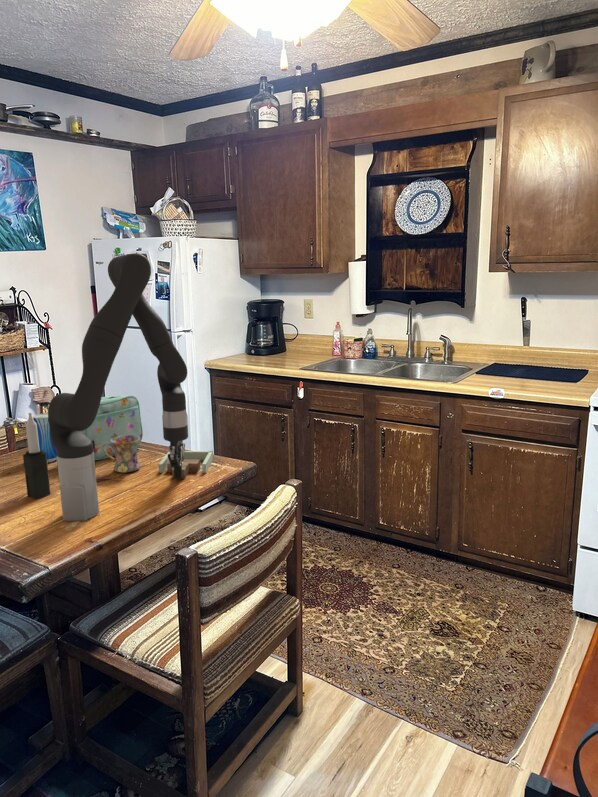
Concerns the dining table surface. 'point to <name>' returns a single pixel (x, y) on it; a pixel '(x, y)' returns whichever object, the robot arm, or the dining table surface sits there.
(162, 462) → the bay
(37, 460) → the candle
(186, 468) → the t block
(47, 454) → the beer can
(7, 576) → the dining table surface
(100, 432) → the lunch box
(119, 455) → the mug
